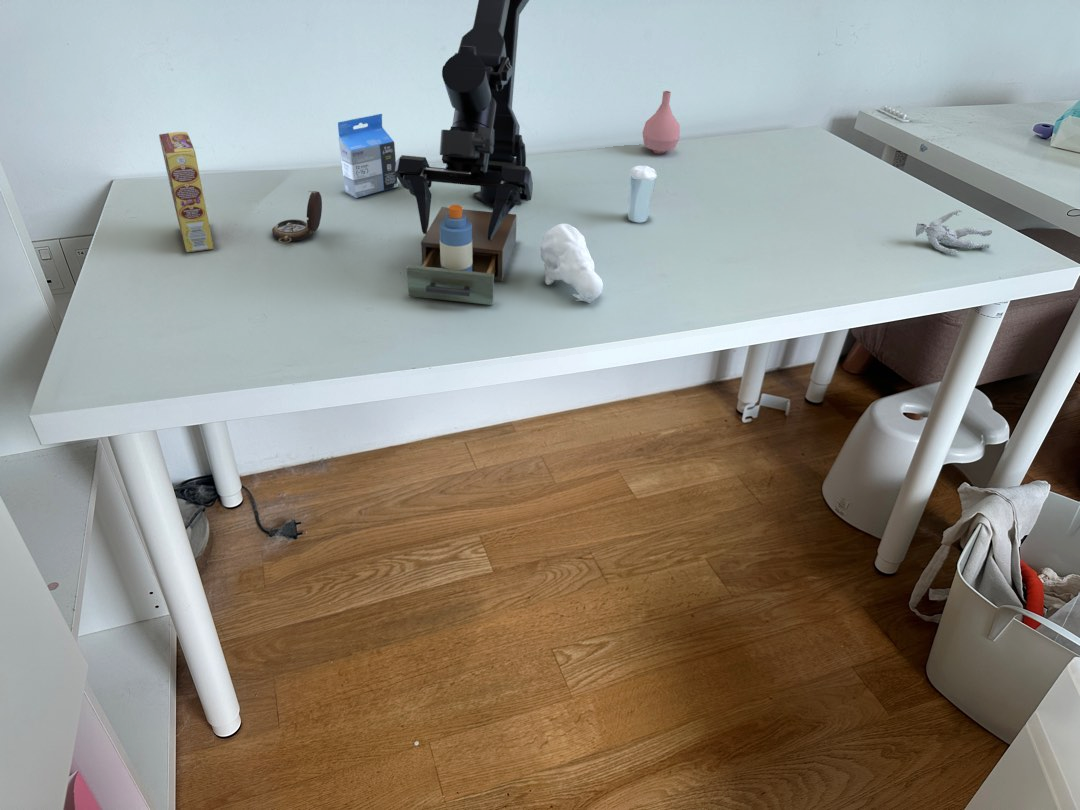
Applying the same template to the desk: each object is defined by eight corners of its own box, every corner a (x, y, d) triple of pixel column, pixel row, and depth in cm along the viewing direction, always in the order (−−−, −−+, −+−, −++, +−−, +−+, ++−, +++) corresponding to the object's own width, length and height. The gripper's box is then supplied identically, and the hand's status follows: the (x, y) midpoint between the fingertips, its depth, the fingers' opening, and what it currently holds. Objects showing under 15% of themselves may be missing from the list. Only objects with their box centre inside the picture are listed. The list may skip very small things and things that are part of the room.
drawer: (431, 255, 122) (429, 228, 119) (508, 262, 121) (508, 235, 118) (405, 302, 110) (403, 273, 107) (490, 311, 109) (490, 282, 106)
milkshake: (654, 226, 135) (662, 169, 129) (622, 222, 135) (629, 165, 129) (656, 216, 138) (664, 159, 132) (626, 212, 139) (632, 156, 133)
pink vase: (633, 152, 164) (640, 92, 157) (651, 142, 169) (658, 84, 162) (666, 161, 160) (675, 100, 153) (683, 151, 166) (693, 91, 158)
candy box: (216, 249, 121) (195, 150, 111) (186, 253, 119) (162, 153, 110) (208, 226, 127) (187, 130, 118) (180, 230, 125) (156, 133, 116)
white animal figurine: (575, 214, 115) (621, 255, 108) (568, 265, 121) (612, 307, 114) (538, 222, 113) (582, 264, 105) (533, 273, 118) (574, 317, 111)
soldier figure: (989, 264, 131) (932, 242, 128) (965, 271, 136) (909, 251, 132) (994, 220, 132) (938, 198, 129) (970, 229, 137) (915, 207, 134)
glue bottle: (435, 277, 114) (432, 205, 107) (461, 269, 116) (460, 198, 109) (452, 290, 111) (450, 216, 104) (478, 282, 113) (478, 209, 107)
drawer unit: (442, 236, 128) (441, 206, 125) (515, 243, 127) (516, 214, 124) (422, 273, 118) (420, 242, 114) (501, 281, 117) (502, 250, 114)
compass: (278, 225, 128) (271, 181, 124) (327, 227, 128) (322, 184, 124) (263, 246, 122) (255, 201, 118) (314, 249, 122) (308, 204, 118)
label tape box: (355, 199, 138) (348, 128, 131) (343, 191, 140) (336, 121, 133) (398, 188, 143) (394, 119, 135) (386, 181, 145) (381, 112, 138)
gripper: (393, 95, 105) (375, 206, 103) (533, 107, 103) (517, 220, 101) (412, 136, 116) (396, 237, 113) (538, 147, 114) (524, 250, 112)
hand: (456, 236), depth 110 cm, fingers open, 9 cm apart
